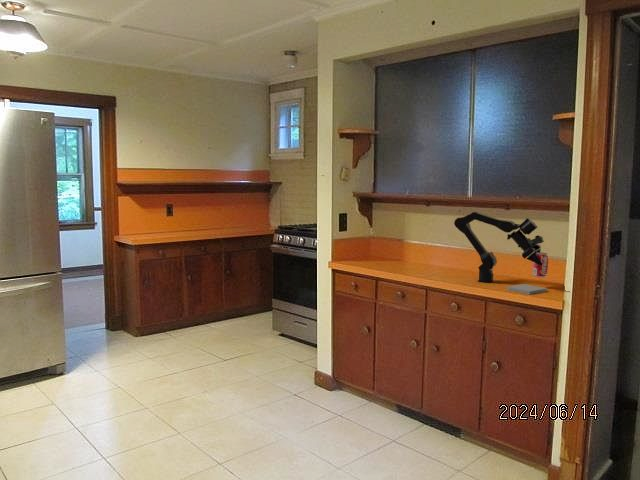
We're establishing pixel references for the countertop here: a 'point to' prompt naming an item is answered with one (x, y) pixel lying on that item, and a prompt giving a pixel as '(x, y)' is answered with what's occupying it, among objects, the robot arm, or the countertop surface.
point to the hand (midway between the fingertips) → (543, 263)
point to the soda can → (541, 269)
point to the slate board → (527, 289)
